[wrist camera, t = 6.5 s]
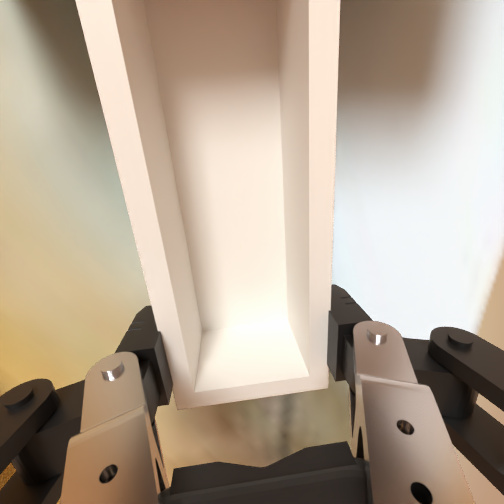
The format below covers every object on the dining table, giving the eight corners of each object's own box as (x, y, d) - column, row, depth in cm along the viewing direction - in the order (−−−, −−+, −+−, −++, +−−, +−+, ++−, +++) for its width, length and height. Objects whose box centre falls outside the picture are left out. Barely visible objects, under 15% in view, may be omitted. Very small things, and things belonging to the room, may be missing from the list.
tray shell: (299, 323, 13) (328, 388, 10) (191, 336, 13) (177, 410, 9) (292, -38, 8) (346, -196, 5) (118, -32, 8) (26, -197, 4)
